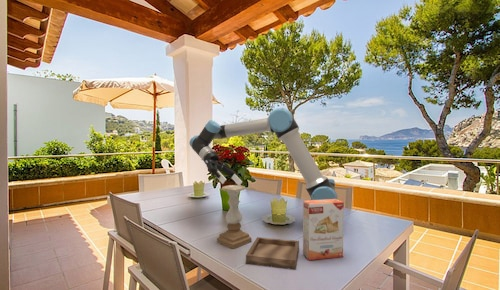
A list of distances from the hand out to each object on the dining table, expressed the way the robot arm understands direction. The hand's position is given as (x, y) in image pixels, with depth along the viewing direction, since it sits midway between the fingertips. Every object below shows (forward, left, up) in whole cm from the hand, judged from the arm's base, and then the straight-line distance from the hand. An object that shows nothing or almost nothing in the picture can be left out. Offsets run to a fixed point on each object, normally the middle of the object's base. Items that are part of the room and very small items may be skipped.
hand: (233, 182), depth 123 cm
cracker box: (-41, +17, -24) cm, 51 cm away
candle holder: (-4, +12, -24) cm, 27 cm away
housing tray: (-23, +21, -23) cm, 39 cm away
